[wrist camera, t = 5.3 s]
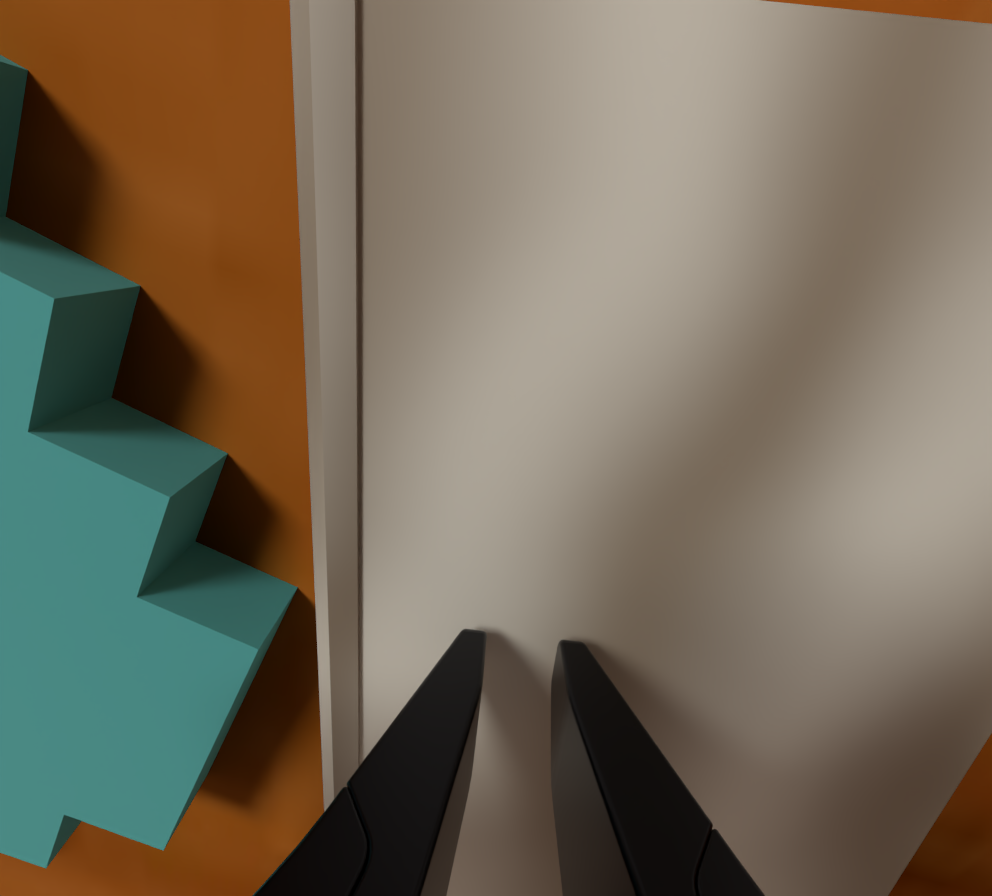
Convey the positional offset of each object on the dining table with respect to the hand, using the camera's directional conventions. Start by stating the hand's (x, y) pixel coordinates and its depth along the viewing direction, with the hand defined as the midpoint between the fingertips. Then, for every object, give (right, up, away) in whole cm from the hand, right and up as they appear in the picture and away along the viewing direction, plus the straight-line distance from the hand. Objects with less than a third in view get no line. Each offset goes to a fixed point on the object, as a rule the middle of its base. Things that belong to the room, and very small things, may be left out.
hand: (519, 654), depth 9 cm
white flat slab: (+3, 0, +2) cm, 3 cm away
